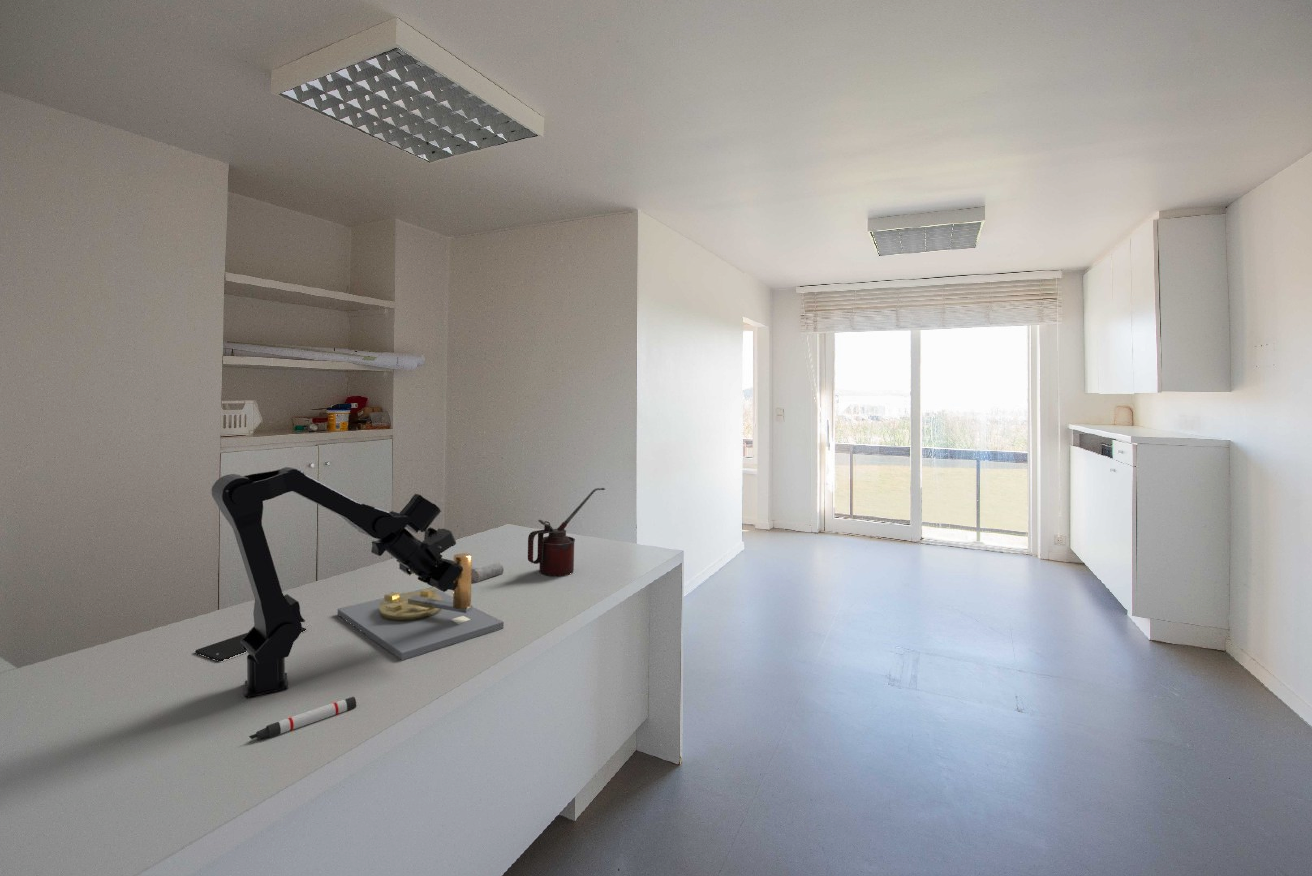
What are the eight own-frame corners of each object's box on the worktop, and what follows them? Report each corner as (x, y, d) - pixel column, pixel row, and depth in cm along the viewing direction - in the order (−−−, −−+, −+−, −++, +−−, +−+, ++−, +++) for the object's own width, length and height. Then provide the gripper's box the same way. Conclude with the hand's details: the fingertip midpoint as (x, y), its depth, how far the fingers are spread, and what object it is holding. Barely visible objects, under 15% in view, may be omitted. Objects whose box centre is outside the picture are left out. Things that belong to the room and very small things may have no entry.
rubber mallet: (436, 549, 192) (503, 563, 177) (436, 560, 192) (503, 575, 177) (411, 555, 183) (479, 571, 169) (411, 566, 184) (479, 583, 169)
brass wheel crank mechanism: (365, 614, 137) (365, 552, 136) (408, 596, 150) (408, 539, 149) (449, 630, 129) (450, 564, 128) (486, 609, 143) (487, 549, 142)
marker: (351, 705, 102) (351, 694, 102) (356, 709, 100) (356, 698, 100) (247, 741, 90) (247, 729, 90) (250, 747, 89) (250, 734, 89)
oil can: (539, 581, 171) (541, 497, 169) (520, 572, 179) (521, 492, 177) (613, 565, 190) (615, 489, 189) (593, 557, 198) (594, 485, 196)
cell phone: (307, 632, 131) (307, 628, 131) (219, 664, 115) (219, 659, 115) (282, 624, 135) (282, 620, 135) (193, 654, 119) (193, 650, 119)
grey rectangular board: (337, 614, 141) (337, 607, 141) (431, 592, 159) (431, 586, 159) (402, 660, 119) (402, 652, 118) (503, 628, 136) (503, 620, 136)
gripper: (455, 527, 123) (499, 567, 132) (412, 512, 135) (455, 551, 144) (418, 571, 118) (467, 610, 127) (378, 552, 130) (425, 589, 139)
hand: (454, 588), depth 134 cm, fingers closed
